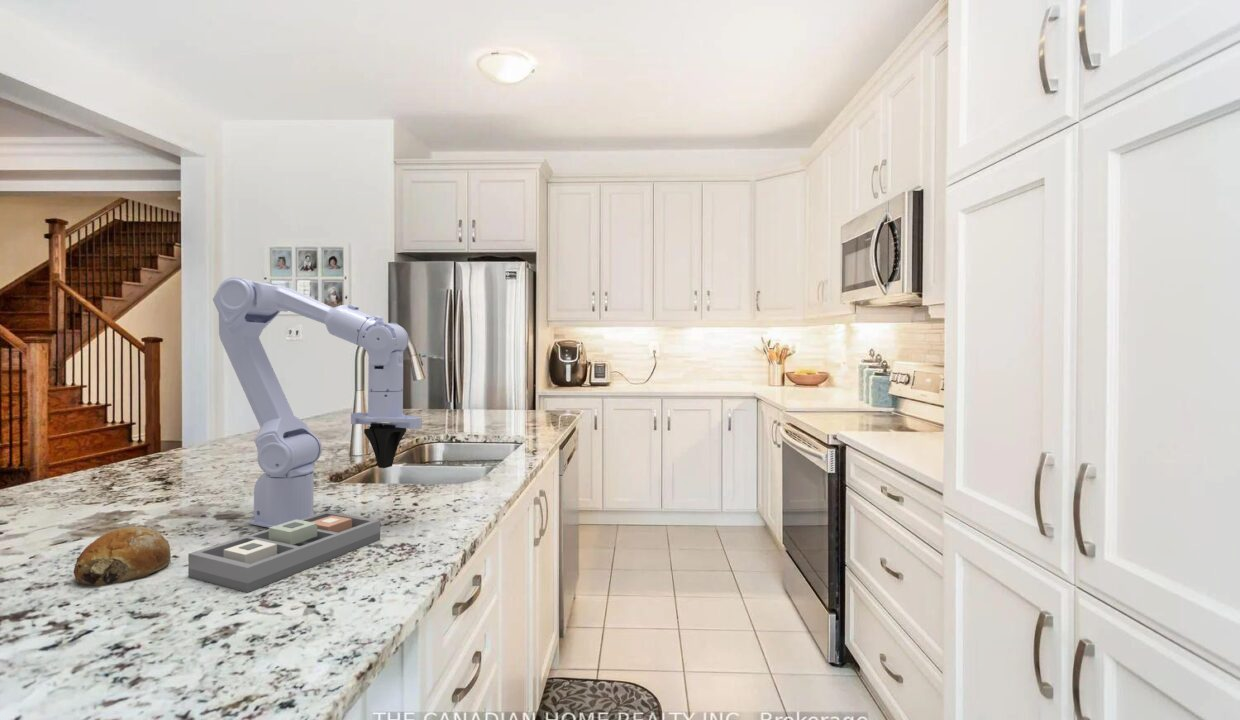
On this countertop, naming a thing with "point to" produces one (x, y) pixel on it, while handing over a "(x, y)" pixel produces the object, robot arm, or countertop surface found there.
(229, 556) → the key offwhite
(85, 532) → the countertop surface
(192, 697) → the countertop surface
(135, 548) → the bread roll
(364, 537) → the grey compartment tray
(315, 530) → the key sage
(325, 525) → the key terracotta
